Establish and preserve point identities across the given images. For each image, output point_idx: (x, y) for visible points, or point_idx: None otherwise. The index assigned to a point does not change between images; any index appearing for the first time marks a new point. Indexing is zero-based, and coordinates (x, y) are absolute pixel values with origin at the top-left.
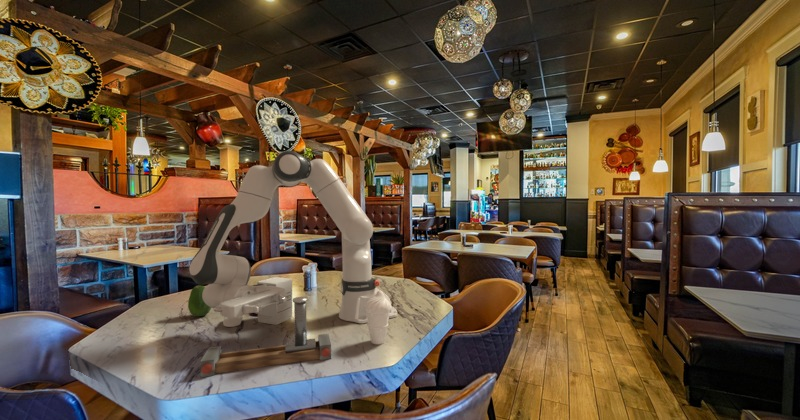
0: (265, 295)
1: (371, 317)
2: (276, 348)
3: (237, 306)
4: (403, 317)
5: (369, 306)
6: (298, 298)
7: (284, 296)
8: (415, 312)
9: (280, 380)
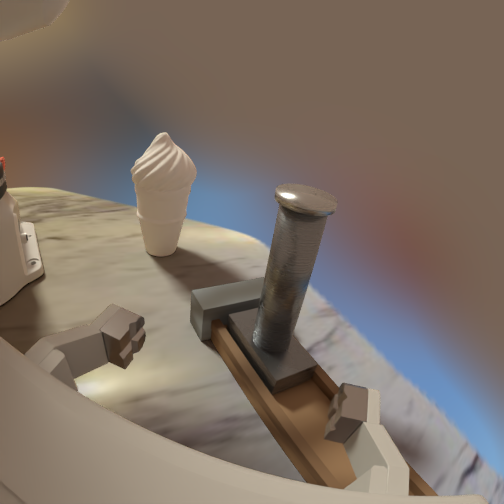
0: (123, 427)
1: (187, 195)
2: (287, 418)
3: (457, 495)
4: (40, 221)
5: (188, 170)
6: (307, 197)
7: (106, 310)
8: (24, 210)
9: (380, 362)
